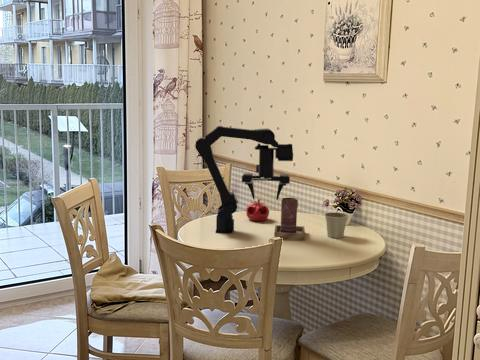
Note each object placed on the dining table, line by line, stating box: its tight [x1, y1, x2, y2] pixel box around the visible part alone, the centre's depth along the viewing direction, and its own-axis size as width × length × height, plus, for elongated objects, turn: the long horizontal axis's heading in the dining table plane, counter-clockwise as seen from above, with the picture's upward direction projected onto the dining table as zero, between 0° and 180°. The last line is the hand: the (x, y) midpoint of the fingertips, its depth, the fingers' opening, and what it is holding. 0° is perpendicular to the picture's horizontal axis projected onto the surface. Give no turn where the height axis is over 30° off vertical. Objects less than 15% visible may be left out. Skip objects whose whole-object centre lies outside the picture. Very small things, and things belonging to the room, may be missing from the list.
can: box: [280, 197, 299, 233], centre depth 220 cm, size 6×6×14 cm
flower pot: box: [323, 211, 349, 239], centre depth 221 cm, size 9×9×9 cm
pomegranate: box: [245, 198, 270, 222], centre depth 246 cm, size 10×10×9 cm
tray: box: [273, 224, 306, 241], centre depth 222 cm, size 12×12×2 cm
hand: (265, 199), depth 225 cm, fingers open, 9 cm apart
